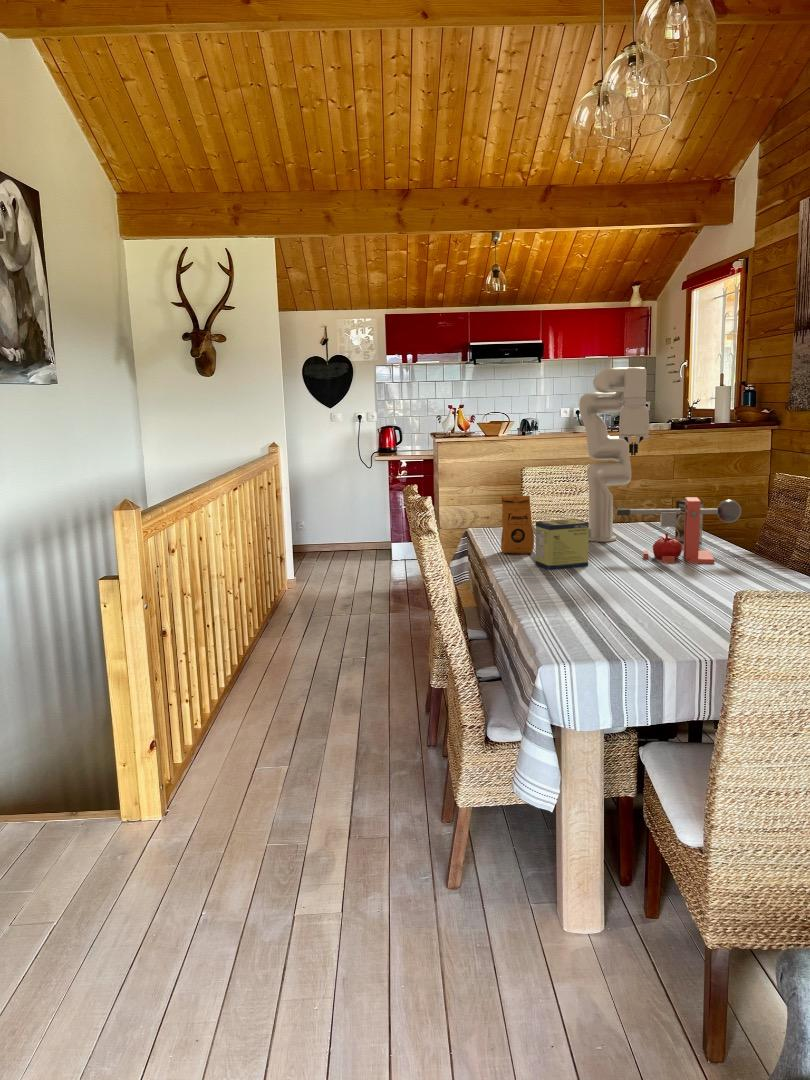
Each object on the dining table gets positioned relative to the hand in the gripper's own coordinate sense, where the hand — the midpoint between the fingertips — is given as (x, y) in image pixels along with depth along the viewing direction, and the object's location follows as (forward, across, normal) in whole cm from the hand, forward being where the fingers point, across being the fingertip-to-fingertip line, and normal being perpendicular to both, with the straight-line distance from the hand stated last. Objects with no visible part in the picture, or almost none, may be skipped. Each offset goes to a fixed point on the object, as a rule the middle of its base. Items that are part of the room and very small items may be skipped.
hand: (633, 455), depth 281 cm
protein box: (+37, -23, -20) cm, 48 cm away
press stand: (+37, +16, -2) cm, 40 cm away
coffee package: (+37, -42, 0) cm, 56 cm away
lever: (+25, +16, -2) cm, 29 cm away
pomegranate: (+37, +12, -2) cm, 39 cm away
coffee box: (+37, +22, +34) cm, 55 cm away
